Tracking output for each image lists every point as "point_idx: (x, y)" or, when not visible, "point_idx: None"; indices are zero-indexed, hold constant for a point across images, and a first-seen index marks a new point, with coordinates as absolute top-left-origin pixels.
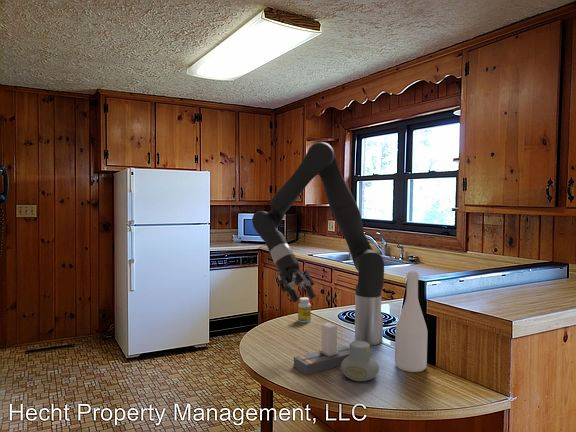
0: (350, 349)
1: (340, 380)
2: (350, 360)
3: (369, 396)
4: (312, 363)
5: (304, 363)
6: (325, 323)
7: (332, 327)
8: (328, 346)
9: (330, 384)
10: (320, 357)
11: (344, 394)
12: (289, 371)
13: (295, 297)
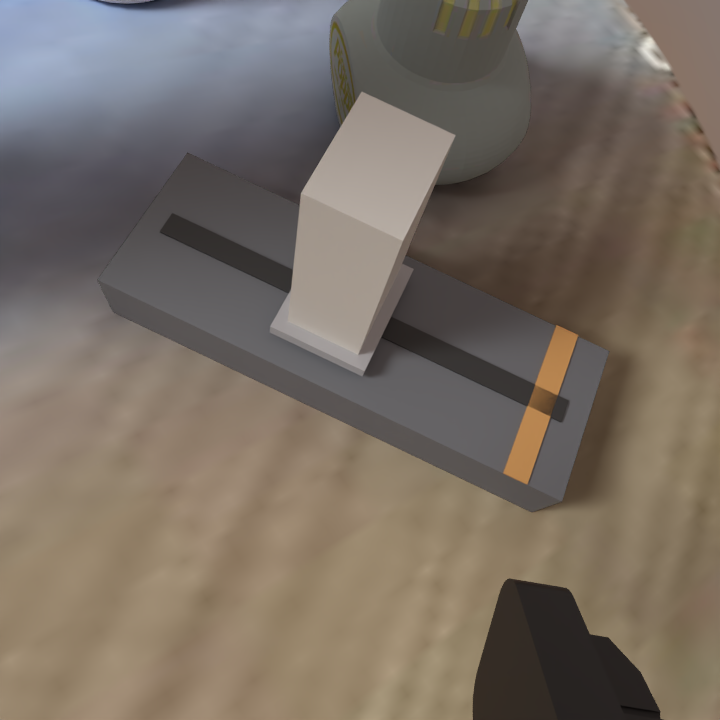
0: (512, 22)
1: (510, 189)
2: (505, 71)
3: (565, 40)
4: (564, 329)
5: (599, 374)
6: (358, 214)
7: (415, 122)
8: (406, 251)
9: (584, 215)
10: (440, 329)
11: (624, 128)
12: (609, 494)
13: (601, 661)
